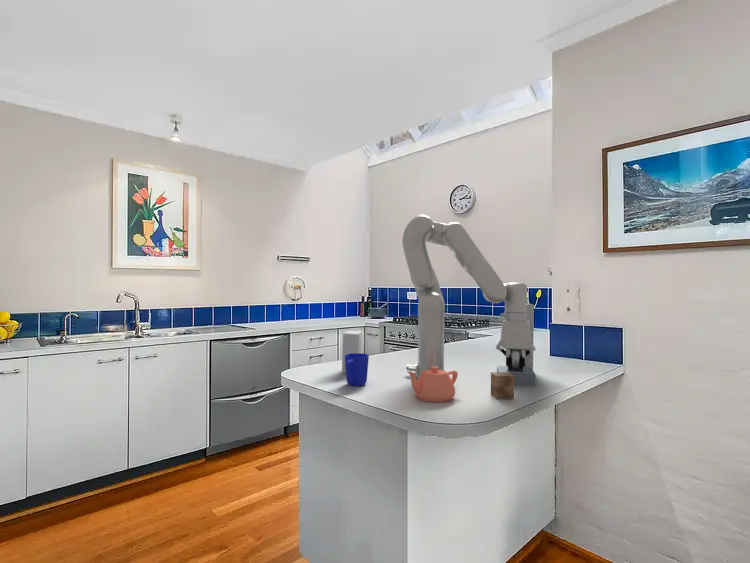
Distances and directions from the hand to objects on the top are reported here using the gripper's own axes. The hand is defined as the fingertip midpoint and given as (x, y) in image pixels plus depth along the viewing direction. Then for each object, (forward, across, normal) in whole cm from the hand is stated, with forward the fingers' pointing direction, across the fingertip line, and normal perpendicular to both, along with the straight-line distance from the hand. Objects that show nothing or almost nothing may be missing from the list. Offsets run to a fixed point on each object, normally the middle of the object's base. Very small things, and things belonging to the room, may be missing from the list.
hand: (515, 367), depth 148 cm
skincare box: (+5, -61, 0) cm, 61 cm away
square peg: (+5, -6, -22) cm, 23 cm away
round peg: (+2, 0, 0) cm, 2 cm away
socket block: (+5, 0, 0) cm, 5 cm away
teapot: (+5, -27, -29) cm, 40 cm away
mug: (+5, -54, -21) cm, 58 cm away
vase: (+5, +3, +15) cm, 16 cm away
